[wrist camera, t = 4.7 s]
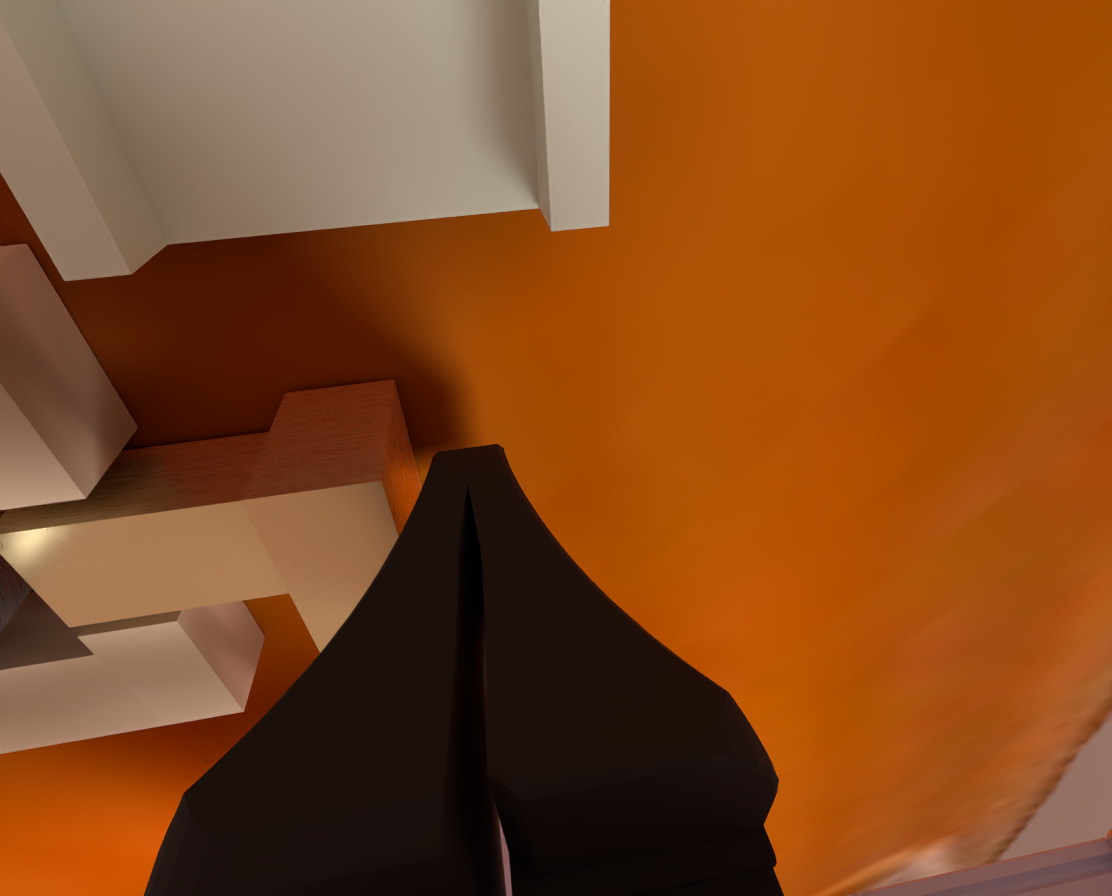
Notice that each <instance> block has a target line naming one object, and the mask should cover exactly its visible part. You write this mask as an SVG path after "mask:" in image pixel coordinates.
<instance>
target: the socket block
mask: <svg viewBox="0 0 1112 896" xmlns="http://www.w3.org/2000/svg"><path fill="white" fill-rule="evenodd" d="M137 428H138V426H137V425H136V423H135V421H134V420H133V418H132V416H131V415H130V413H129V411H128V410H127V408H126V407H125V405H124V403H123V402H122V400H121V398H120V397H119V395H118V393H117V392H116V390H115V388H114V387H113V385H112V383H111V382H110V380H109V378H108V377H107V375H106V373H105V372H104V370H103V369H102V367H101V365H100V364H99V362H98V360H97V359H96V357H95V355H94V354H93V352H92V350H91V349H90V347H89V345H88V344H87V342H86V340H85V339H84V337H83V335H82V334H81V332H80V331H79V329H78V327H77V326H76V324H75V322H74V321H73V319H72V317H71V316H70V314H69V312H68V311H67V309H66V307H65V306H64V304H63V302H62V301H61V299H60V297H59V296H58V294H57V293H56V291H55V289H54V288H53V286H52V284H51V283H50V281H49V279H48V278H47V276H46V274H45V273H44V271H43V269H42V268H41V266H40V264H39V263H38V261H37V259H36V258H35V256H34V254H33V253H32V251H31V250H30V248H29V246H28V245H27V244H18V245H8V246H0V510H6V509H13V508H20V507H28V506H35V505H42V504H50V503H57V502H64V501H72V500H79V499H86V498H87V496H88V495H89V494H90V492H91V491H92V490H93V488H94V487H95V486H96V484H97V483H98V481H99V480H100V479H101V477H102V476H103V475H104V473H105V472H106V471H107V469H108V468H109V466H110V465H111V464H112V462H113V461H114V460H115V458H116V457H117V456H118V454H119V453H120V452H121V450H122V449H123V447H124V446H125V445H126V443H127V442H128V441H129V439H130V438H131V437H132V435H133V434H134V432H135V431H136V430H137ZM264 639H265V636H264V635H263V633H262V631H261V630H260V628H259V626H258V625H257V623H256V621H255V620H254V618H253V616H252V615H251V613H250V611H249V610H248V608H247V606H246V605H245V603H244V602H243V601H237V602H230V603H224V604H217V605H211V606H205V607H198V608H192V609H185V610H179V611H172V612H166V613H160V614H153V615H147V616H140V617H134V618H127V619H121V620H115V621H108V622H102V623H95V624H89V625H82V626H76V627H70V628H69V627H68V626H67V625H66V624H65V623H64V621H63V620H62V619H61V618H60V617H59V616H58V615H57V614H56V613H55V612H54V611H53V610H52V609H51V608H50V607H49V605H48V604H47V603H46V602H45V601H44V600H43V599H42V598H41V597H40V596H39V595H38V594H37V593H36V592H30V593H28V595H27V596H26V597H25V599H24V600H23V602H22V603H21V604H20V606H19V607H18V609H17V610H16V611H15V613H14V614H13V616H12V617H11V618H10V620H9V621H8V623H7V624H6V625H5V627H4V628H3V630H2V631H1V632H0V754H3V753H9V752H15V751H21V750H26V749H32V748H38V747H44V746H49V745H55V744H61V743H67V742H73V741H78V740H84V739H90V738H96V737H101V736H107V735H113V734H119V733H125V732H130V731H136V730H142V729H148V728H153V727H159V726H165V725H171V724H176V723H182V722H188V721H194V720H200V719H205V718H211V717H217V716H223V715H228V714H234V713H240V712H244V710H245V706H246V703H247V699H248V696H249V692H250V689H251V685H252V682H253V678H254V675H255V671H256V668H257V664H258V661H259V657H260V653H261V650H262V646H263V643H264Z"/></svg>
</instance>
